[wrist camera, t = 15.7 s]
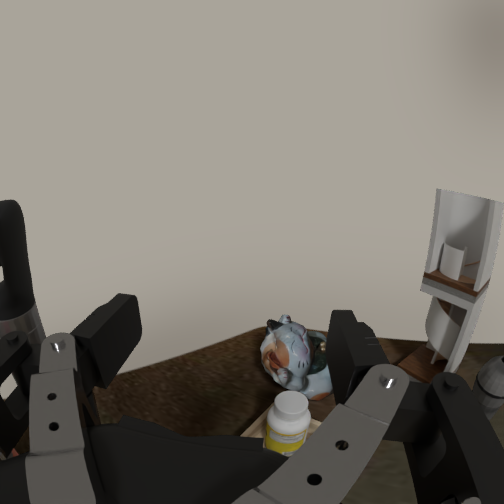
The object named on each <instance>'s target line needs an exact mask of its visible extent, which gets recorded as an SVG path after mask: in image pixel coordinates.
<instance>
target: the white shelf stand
mask: <svg viewBox="0 0 504 504" xmlns="http://www.w3.org/2000/svg"><path fill="white" fill-rule="evenodd" d="M503 206H504V203H502V202H498V201H494V200H490V199H486V198H481V197H477V196H472V195H467V194H463V193H458V192H453V191H447V190H441V189H436V201H435V209H434V217H433V226H432V232H431V239H430V245H429V251H428V257H427V262H426V266H425V271H424V276H423V281H422V285H421V289H420V291H423V292H426V293H428V294H430V295H433V298H432V302H431V305H430V309H429V313H428V316H427V319H426V333H427V336H428V342H427V345H426V344H424V343H423V344H422V345H421V346H420V347H419V348H417V349H416V350H415V351H414V352H413V353H411V354H410V355H409V356H408V357H406V358H405V359H404V360H403V361H401V362H400V363H399V364H398V366H397V367H399V368H401V369H402V370H404V371H405V372H406V373H407V375H408V377H409V381H413V382H420V383H428V384H431V382H432V380H433V378H434V376H435V375H436V374H438V373H441V372H451V373H455V372H456V371H457V370H458V367H459V365H460V363H461V361H462V358H463V356H464V354H465V351H466V349H467V347H468V344H469V342H470V339H471V337H472V334H473V331H474V329H475V326H476V323H477V320H478V317H479V314H480V311H481V308H482V305H483V302H484V298H485V295H486V292H487V288H488V285H489V281H490V277H491V273H492V269H493V265H494V260H495V256H496V251H497V246H498V240H499V235H500V228H501V222H502V214H503Z"/></svg>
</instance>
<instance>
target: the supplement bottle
mask: <svg viewBox="0 0 504 504" xmlns="http://www.w3.org/2000/svg"><path fill="white" fill-rule="evenodd" d="M307 408H308V399H307V398H306V396H305V395H303V394H302V393H300V392H297V391H284V392H282V393H280V394H278V395H277V396H276V398H275V401H274V406H272V407H271V408H270V410H269V412H268V415H267V424H266V435H265V448H266V449H270V450H273V451H276V452H278V453H281V454H283V455H285V456H287V457H289V458H290V457H291V456H292V455H293V454H294V453H295V452H296V451H297V450H298V449H299V448H300V447H301V445H302V444H303V443H304V442H305V440H306V436H307V432H308V429H309V425H310V420H311V415H310V412H309V410H308V409H307Z"/></svg>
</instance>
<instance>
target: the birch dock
mask: <svg viewBox="0 0 504 504" xmlns="http://www.w3.org/2000/svg"><path fill="white" fill-rule="evenodd" d="M272 406H274V402H273V403H272V404H271V405H270V407H269V408H268V409H267V410H266V411H265V412H264V413H263V414H262V415H261V416H260V417H259V418H258V419H257V420H256V421H255V422H254V423H253V424H252V425H251V426H250V427H249V428H248V429H247V430H246V431H245V432H244V433H243V434H242V435H241V436H243V437H256V438H264V443H263V448H265V435H266V424H267V415H268V412H269V410H270V408H271V407H272ZM321 424H322V422H319V421H316V420H314V419H311V420H310V425H309V429H308V432H307V436H306V440H307V439H308V438H309V437H310V436H311V435H312V434H313V433H314V431H315V430H316V429H317V428H318V427H319V426H320V425H321ZM306 440H305V441H306Z"/></svg>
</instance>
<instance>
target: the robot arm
mask: <svg viewBox="0 0 504 504" xmlns="http://www.w3.org/2000/svg"><path fill="white" fill-rule="evenodd" d="M0 266H2V268H3V275H4V280H3V281H2V282H0V386H1V384H2V383H3V382H4V380H6V378H7V377H8V376H9V375H10V374H11V373H12V375H13V377H14V379H15V381H16V383H17V385H18V386H17V387H16V389H14V391H13V392H12V393H11V394H10V395H9V397H8V398H7V399H6V400H5V402H4V400H3V399H2V397H1V395H0V504H342V503H341V501H342V499H343V498H344V497H345V495H346V494H347V493H348V491H349V490H350V488H351V487H352V486H353V484H354V483H355V481H356V480H357V478H358V477H359V475H360V474H361V472H362V471H363V469H364V468H365V466H366V465H367V463H368V461H369V460H370V458H371V457H372V455H373V453H374V452H375V450H376V448H377V447H378V445H379V443H380V441H381V440H382V439H383V440H391V441H400V442H403V444H404V448H405V451H406V455H407V459H408V463H409V467H410V471H411V475H412V479H413V483H414V488H415V492H416V497H417V502H418V504H504V449H503V447H502V445H501V443H500V441H499V439H498V437H497V435H496V433H495V431H494V430H493V428H492V426H491V424H490V422H489V420H488V418H487V417H486V415H485V413H484V411H483V409H482V408H481V406H480V404H479V402H478V401H477V399H476V397H475V396H474V394H473V392H472V391H471V389H470V387H469V386H468V384H467V382H466V381H465V380H464V379H463V378H462V377H461V376H459V375H457V374H455V373H451V372H441V373H438V374H436V375H435V376H434V378H433V380H432V382H431V384H428V383H420V382H413V381H409V377H408V375H407V373H406V372H405V371H404V370H402V369H401V368H399V367H397V366H394V365H390V363H389V361H388V359H387V357H386V355H385V353H384V351H383V349H382V347H381V345H379V341H378V340H377V338H376V336H375V334H374V332H373V330H372V329H371V328H370V327H369V326H368V325H366V324H365V323H364V322H357V320H356V318H355V316H354V314H353V312H352V310H333V311H332V314H331V319H330V324H329V330H328V335H327V340H326V347H325V355H326V361H327V365H328V369H329V374H330V378H331V383H332V387H333V392H334V397H335V402H336V407H335V408H334V409H333V411H332V412H331V413H330V414H329V415H328V417H327V418H326V419H325V420H324V421H323V422H322V424H321V425H320V426H319V427H318V428H317V429H316V430H315V431H314V433H313V434H312V435H311V436H310V437H309V438H308V439H307V440H306V441H305V442H304V443H303V444H302V445H301V447H300V448H299V449H298V450H297V451H296V452H295V453H294V454H293V455H292V456H291V457H290V458H289V457H287V456H285V455H283V454H281V453H278V452H276V451H273V450H270V449H266V448H263V443H264V438H256V437H243V436H232V435H219V436H201V437H187V436H183V435H181V434H178V433H176V432H174V431H171V430H169V429H167V428H165V427H162V426H160V425H158V424H156V423H153V422H149V421H145V420H141V419H137V418H133V417H129V416H126V415H123V416H122V418H121V420H120V421H119V423H118V424H117V423H114V424H101V421H100V417H99V413H98V409H97V404H96V400H95V395H94V392H93V390H92V389H93V388H94V386H97V387H101V388H104V389H107V387H108V386H109V384H110V383H111V381H112V380H113V378H114V377H115V375H116V374H117V373H118V371H119V369H120V368H121V367H122V365H123V364H124V362H125V361H126V360H127V358H128V357H129V355H130V354H131V352H132V351H133V350H134V348H135V347H136V345H137V344H138V342H139V341H140V339H141V335H142V325H141V319H140V313H139V306H138V301H137V297H136V296H135V295H129V294H121V293H119V294H117V295H116V296H115V297H114V298H113V299H112V300H110V301H109V302H108V303H106V304H104V305H102V306H100V307H98V308H97V309H96V310H95V311H94V312H92V314H91V315H89V316H88V317H87V318H86V320H84V321H83V322H82V323H81V324H79V325H78V326H77V327H76V328H75V329H74V330H73V331H72V332H71V333H70V334H68V333H56V334H53V335H50V336H48V337H47V338H46V336H45V332H44V329H43V326H42V323H41V319H40V316H39V313H38V309H37V306H36V302H35V298H34V294H33V287H32V278H31V273H30V267H29V260H28V253H27V243H26V232H25V223H24V217H23V213H22V210H21V207H20V205H19V204H18V203H17V202H16V201H15V200H4V201H0ZM28 426H29V437H30V451H29V452H26V453H23V454H20V455H17V456H14V457H11V458H8V456H9V455H10V453H11V452H12V450H13V448H14V447H15V445H16V444H17V442H18V441H19V439H20V438H21V436H22V435H23V433H24V432H25V430H26V429H27V427H28ZM7 458H8V459H7Z"/></svg>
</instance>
